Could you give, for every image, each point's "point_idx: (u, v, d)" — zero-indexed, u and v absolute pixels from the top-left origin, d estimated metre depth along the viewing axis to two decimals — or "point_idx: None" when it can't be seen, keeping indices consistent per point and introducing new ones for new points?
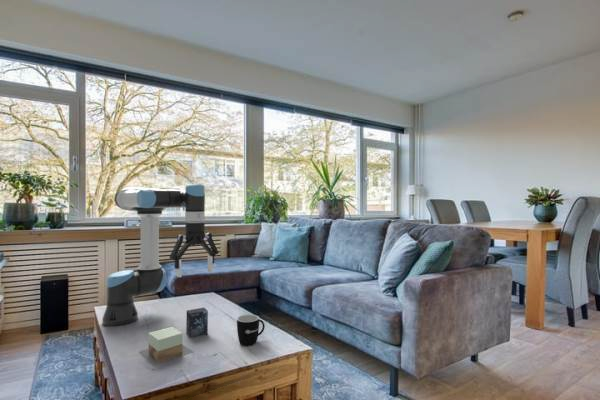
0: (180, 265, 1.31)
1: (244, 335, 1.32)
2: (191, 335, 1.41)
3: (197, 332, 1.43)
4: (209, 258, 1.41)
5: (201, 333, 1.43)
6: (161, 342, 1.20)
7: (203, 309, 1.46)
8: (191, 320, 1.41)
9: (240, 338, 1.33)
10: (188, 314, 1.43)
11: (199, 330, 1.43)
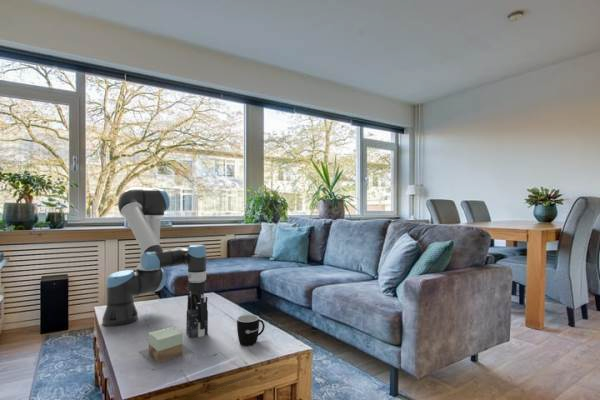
0: None
1: (244, 335, 1.32)
2: (191, 335, 1.41)
3: None
4: None
5: None
6: (161, 342, 1.20)
7: None
8: (191, 320, 1.41)
9: (240, 338, 1.33)
10: (188, 314, 1.42)
11: None
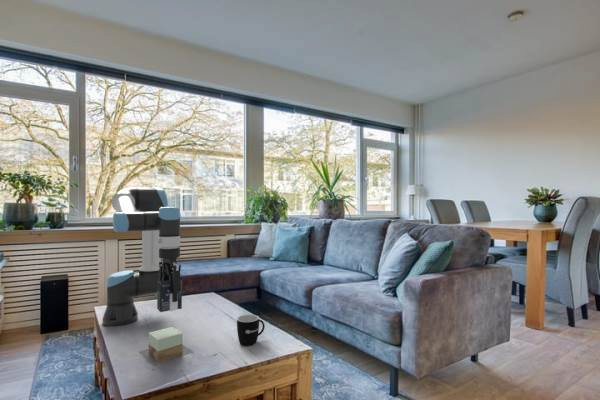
0: None
1: (244, 335, 1.32)
2: (162, 308, 1.23)
3: None
4: None
5: None
6: (161, 342, 1.20)
7: None
8: (162, 291, 1.23)
9: (240, 338, 1.33)
10: (159, 285, 1.25)
11: None
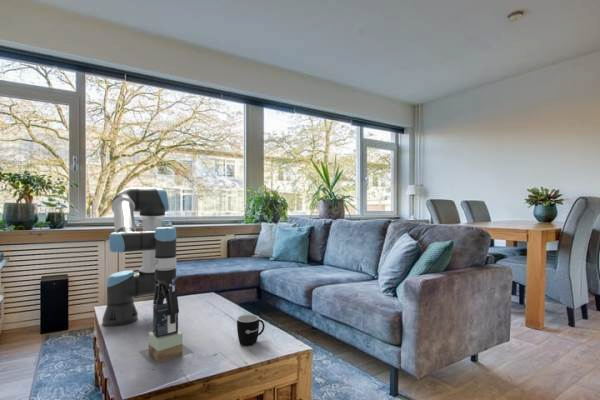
0: None
1: (244, 335, 1.32)
2: (158, 334, 1.21)
3: (166, 330, 1.23)
4: None
5: None
6: (161, 342, 1.20)
7: None
8: (158, 316, 1.21)
9: (240, 338, 1.33)
10: (155, 309, 1.23)
11: None
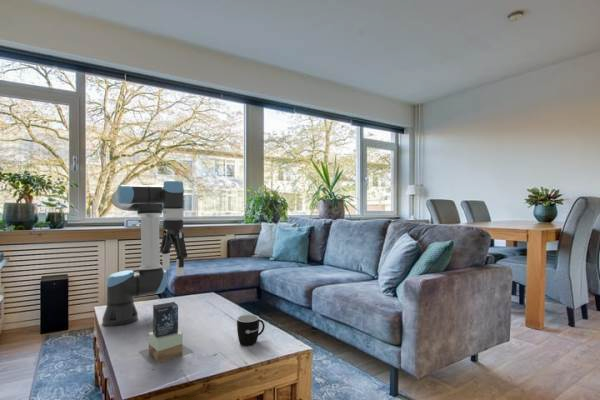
0: None
1: (244, 335, 1.32)
2: (158, 334, 1.21)
3: (166, 330, 1.23)
4: None
5: (170, 331, 1.24)
6: (161, 342, 1.20)
7: (173, 303, 1.27)
8: (158, 316, 1.21)
9: (240, 338, 1.33)
10: (155, 309, 1.23)
11: (168, 327, 1.23)
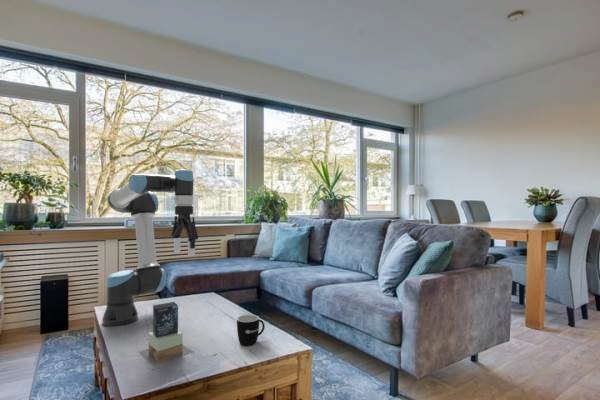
0: (174, 242, 1.49)
1: (244, 335, 1.32)
2: (158, 334, 1.21)
3: (166, 330, 1.23)
4: None
5: (170, 331, 1.24)
6: (161, 342, 1.20)
7: (173, 303, 1.27)
8: (158, 316, 1.21)
9: (240, 338, 1.33)
10: (155, 309, 1.23)
11: (168, 327, 1.23)
